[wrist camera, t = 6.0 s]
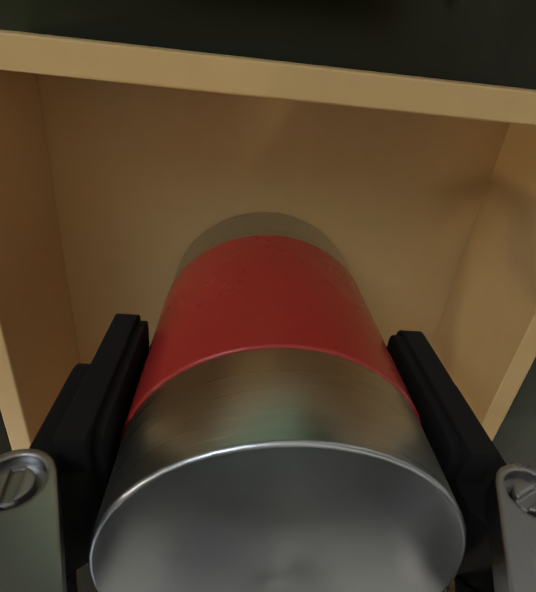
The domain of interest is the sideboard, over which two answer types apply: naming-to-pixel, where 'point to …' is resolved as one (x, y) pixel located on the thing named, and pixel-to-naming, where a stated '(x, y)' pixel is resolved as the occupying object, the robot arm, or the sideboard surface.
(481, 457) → the robot arm
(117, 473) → the can
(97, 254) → the open wooden box
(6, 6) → the sideboard surface
